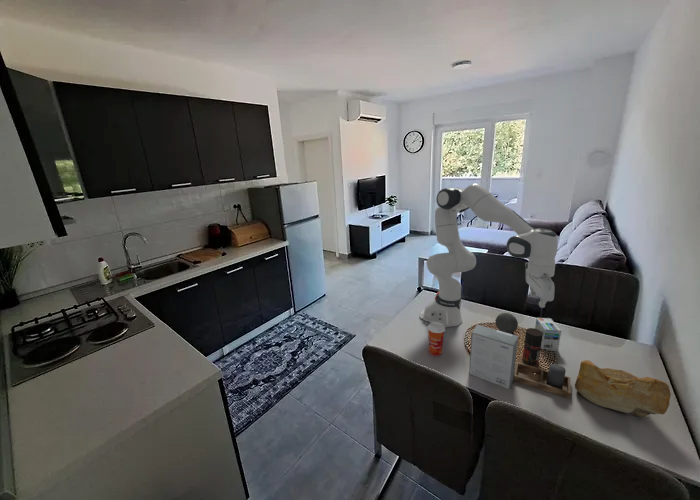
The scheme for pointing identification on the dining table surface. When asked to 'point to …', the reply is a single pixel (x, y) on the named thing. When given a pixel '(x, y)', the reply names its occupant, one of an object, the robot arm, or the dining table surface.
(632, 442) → the dining table surface
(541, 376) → the walnut rack
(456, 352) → the dining table surface
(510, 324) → the decorative ball
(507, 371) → the hard drive box
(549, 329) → the light bulb box
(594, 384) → the rough brown rock
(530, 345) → the deodorant
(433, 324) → the red and orange canister
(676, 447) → the dining table surface
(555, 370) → the black rubber plug
